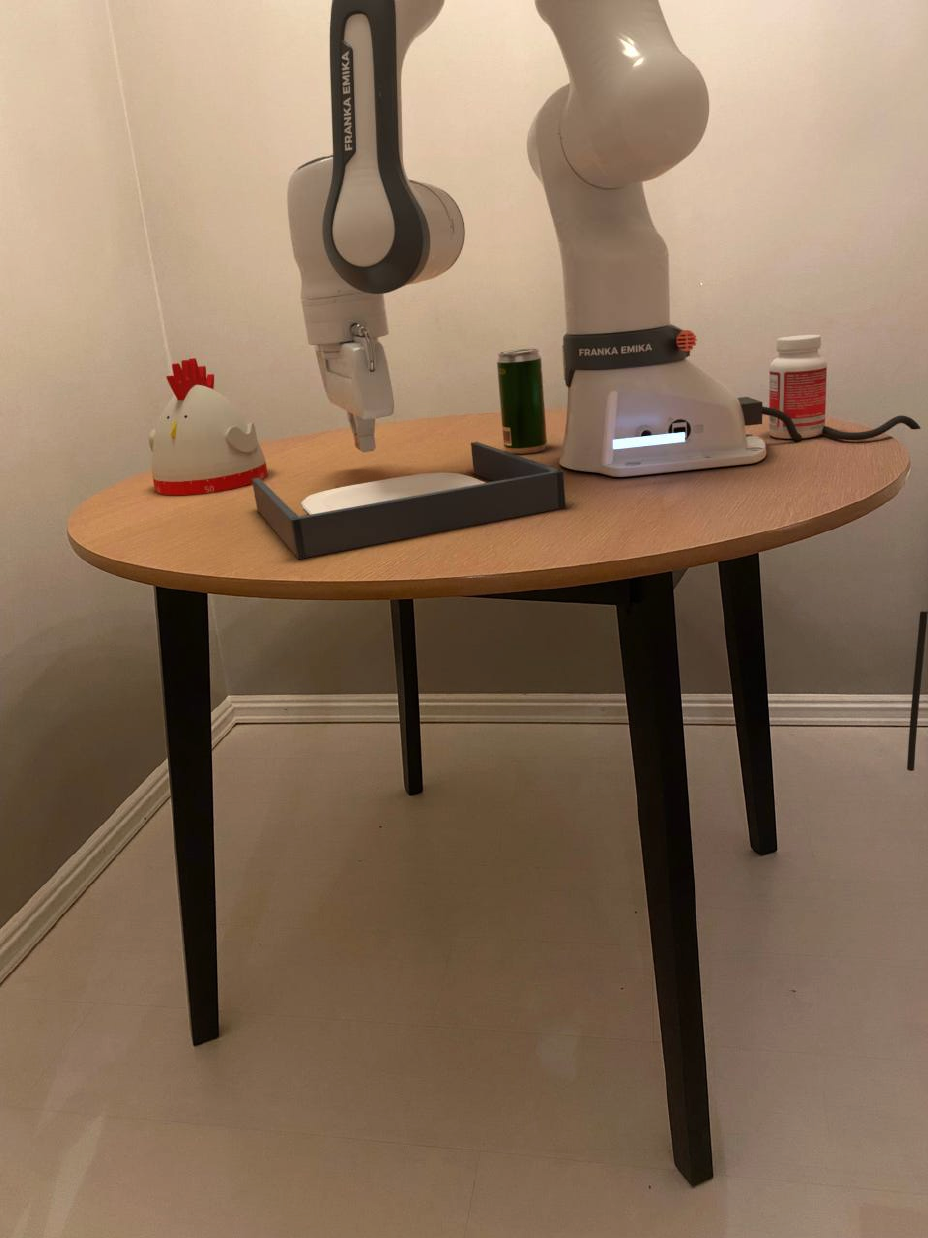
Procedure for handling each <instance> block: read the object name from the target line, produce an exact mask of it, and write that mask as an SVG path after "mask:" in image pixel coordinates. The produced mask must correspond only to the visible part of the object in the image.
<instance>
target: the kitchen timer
mask: <svg viewBox="0 0 928 1238" xmlns="http://www.w3.org/2000/svg"><path fill="white" fill-rule="evenodd" d="M180 361H181V362H177V363H171V369H172V374H173V375H166V376H165V377H166V380H167V382H168V385H169V387H170V388H171V390H172V393H173V394H174V395H173V396H172V398H171V399H170V400H169V401H168V402H167V404H166V405H165V406H164V408H163V411H162V412H161V414H160V416H159V419H158V421H157V424H156V427H155V429H152V430H151V431H149V436H148V443H149V448H150V451H151V452H152V453H151V477H152V481H153V485H154V491H155V493H157V494H159V495H165V496H193V495H203V494H204V495H205V494H211V493H218V492H223V491H229V490H234V489H238V488H241V487H246V486H249V485H253V483H252V479H254V478H260V479H261V480H262V481H263V480H264V479H266V478H267V476H268V475H269V474H268V468H267V461H266V457H265V455H264V451H263V449H262V447H261V445H260V443H259V440H258V436H257V430H256V426H255V424H254V423H253V421H250V422H248V419H247V418H246V417H245V416H244V415H243V413H242V412H241V411H240V409H239V408H237V406H235V404H234V403H233V402H232V401H231V400H229V398H227V397H225V396H224V395H223V394H221V393H220V392H219V391H216V390H215V374H214V373H210V374H209V373H208V374H207V367H206V366H205V365H200V366H199V364H198V361H197V358H196V357H194V358H188V359H182V360H180ZM180 363H181V364H180Z"/></svg>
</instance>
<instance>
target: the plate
mask: <svg viewBox="0 0 928 1238" xmlns="http://www.w3.org/2000/svg"><path fill="white" fill-rule="evenodd" d="M484 483H486V482H485V481H484V480H483V481H482V480H481V479H478V478H475V477H473V476H469V475H466V474H462V473H456V472H444V471H443V472H428V473H417V474H411V475H405V476H398V477H391V478H386V479H380V480H374V481H368V482H362V483H356V484H351V485H346V486H340V487H337V488H331V489H328V490H324V491H319V492H316V493H313V494H310V495H308V496H307V497H306V498H304V499H303V500H302V501H301V502H300V503H301V504H300V505H301V506H302V509H303V511H304V512H305V513H306V515H311V514H317V513H322V512H328V511H333V510H339V509H344V508H350V507H356V506H361V505H367V504H372V503H378V502H383V501H389V500H394V499H400V498H406V497H411V496H417V495H422V494H428V493H433V492H439V491H445V490H450V489H456V488H461V487H467V486H472V485H478V484H484Z"/></svg>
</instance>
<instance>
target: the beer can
mask: <svg viewBox="0 0 928 1238" xmlns="http://www.w3.org/2000/svg"><path fill="white" fill-rule="evenodd" d="M539 352H540V348H521V349H519V348H518V349H511V350H504V351H500V352H497V355H498V358H497V361H496V369H497V380H498V392H499V404H500V416H501V429H502V430H501V431H502V440H503V447H504V449H505V451H506V452H509V453H511V454H514V455H528V454H535V453H539V452H542V451H544V450H545V449H546V446H547V443H548V437H547V436H548V435H547V423H546V422H547V421H546V408H545V394H544V393H545V392H544V380H543V364H542V363H543V362H542V356H541V355H540V353H539Z"/></svg>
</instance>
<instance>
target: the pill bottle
mask: <svg viewBox="0 0 928 1238" xmlns="http://www.w3.org/2000/svg"><path fill="white" fill-rule="evenodd" d="M821 346H822V336H821V335H820V334H801V335H791V336H790V335H789V336H782V337H779V338H777V339H776V352H777V353H778V356H777V357H776V358H775V359H773V360H772V361H771V363H770V365H769V371H768V372H769V379H768V380H769V381H768V382H769V390H768V391H769V393H768V395H769V399H768V403H769V404H768V408H773V409H777V410H780V411H782V412H784V413H785V414H787V415H788V416H789V417H790V418H791V420H792V421H793V423H794V426H795V428H796V431H797V432H798V434H800V435H801V437H802V439H801V440H803V439H809V438H814V437H818V436H821V435H822V434H824V433H823V432H822V431H823V427H824V426H826V408H827V407H826V403H827V371H828V370H827V369H828V366H827V365H828V364H827V363H828V362H827V359H826V358H825V357H824V356H823V355H821V354H819V350H820V349H821ZM768 433H769V436H771V437H773V438H776V439H783V440H785V439H786V440H793V439H792V438H791V436H790V435H789V433H788V430H787V428H786V425H785V424H784V422H783V421H781V420H780V419H778V418H776V417H773V416H769V415H768Z"/></svg>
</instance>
